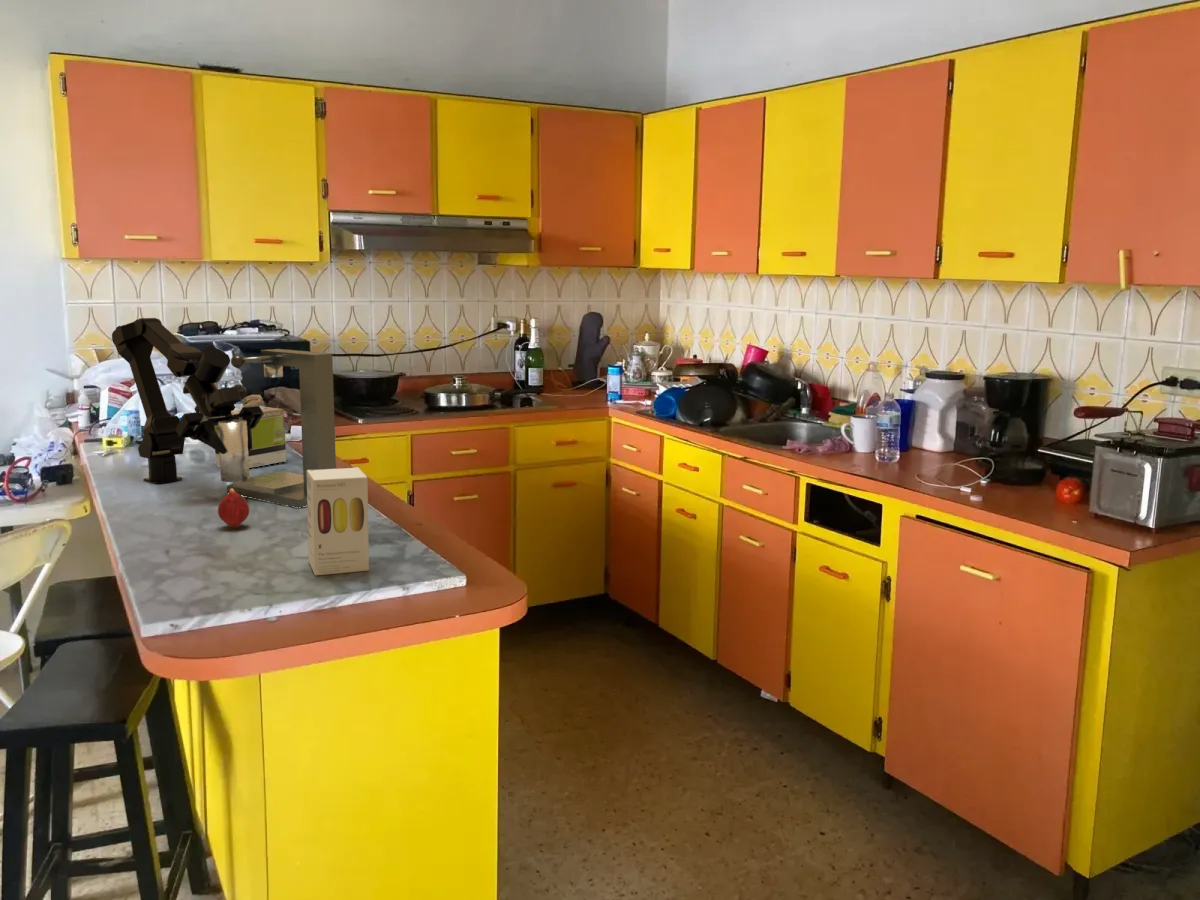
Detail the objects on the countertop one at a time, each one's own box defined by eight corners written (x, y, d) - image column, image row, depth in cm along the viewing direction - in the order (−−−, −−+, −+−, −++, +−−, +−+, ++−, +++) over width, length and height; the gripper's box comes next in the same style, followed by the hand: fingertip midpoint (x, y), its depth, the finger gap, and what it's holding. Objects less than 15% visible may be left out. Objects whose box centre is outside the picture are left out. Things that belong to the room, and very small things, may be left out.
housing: (215, 481, 216) (212, 422, 213) (230, 475, 222) (227, 418, 219) (239, 482, 215) (236, 423, 212) (254, 477, 220) (252, 419, 218)
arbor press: (204, 498, 220) (196, 351, 214) (283, 481, 238) (277, 345, 232) (278, 514, 207) (271, 358, 201) (355, 495, 226) (350, 352, 220)
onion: (256, 526, 198) (254, 487, 196) (234, 532, 193) (232, 493, 191) (234, 522, 200) (232, 484, 199) (212, 529, 195) (210, 490, 194)
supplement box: (314, 576, 167) (310, 479, 164) (307, 561, 175) (303, 469, 172) (371, 570, 170) (368, 475, 167) (361, 556, 179) (359, 465, 176)
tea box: (264, 458, 267) (261, 404, 264) (287, 463, 261) (285, 408, 258) (214, 467, 255) (211, 410, 252) (237, 472, 249) (234, 414, 246)
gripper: (180, 376, 209) (212, 433, 204) (257, 370, 223) (288, 423, 219) (162, 409, 215) (193, 465, 210) (238, 401, 230) (268, 453, 225)
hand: (237, 450), depth 216 cm, fingers closed on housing, 6 cm apart
